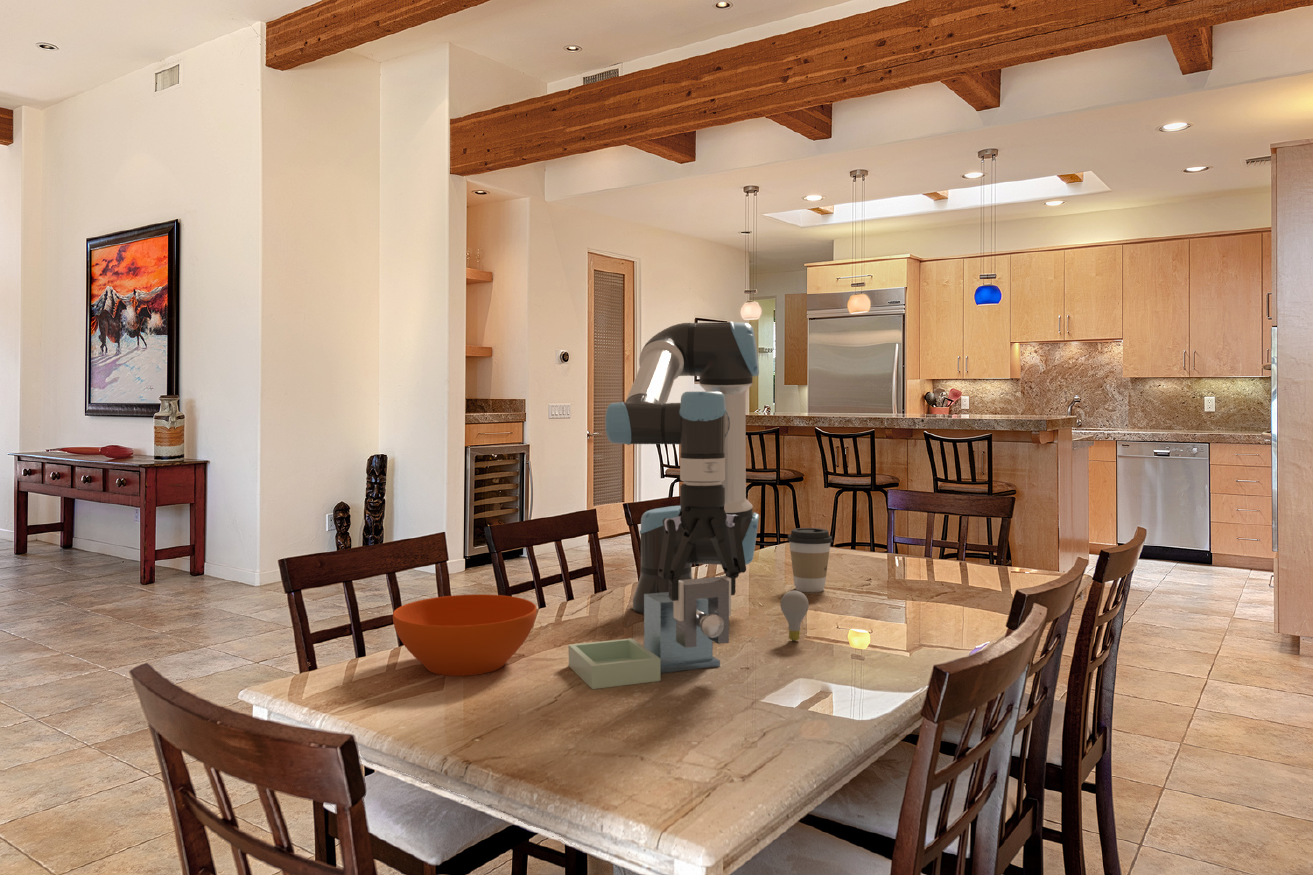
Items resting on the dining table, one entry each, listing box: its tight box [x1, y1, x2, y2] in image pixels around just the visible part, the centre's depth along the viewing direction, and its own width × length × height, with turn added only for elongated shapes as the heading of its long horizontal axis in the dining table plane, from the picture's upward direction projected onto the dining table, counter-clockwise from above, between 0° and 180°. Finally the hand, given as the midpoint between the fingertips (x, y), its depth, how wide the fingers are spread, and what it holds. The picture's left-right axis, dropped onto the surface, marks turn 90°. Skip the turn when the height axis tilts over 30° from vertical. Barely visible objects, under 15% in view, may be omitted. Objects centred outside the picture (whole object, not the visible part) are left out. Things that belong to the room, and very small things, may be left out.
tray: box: [568, 637, 661, 690], centre depth 154 cm, size 14×12×4 cm
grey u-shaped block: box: [676, 576, 730, 648], centre depth 151 cm, size 4×8×10 cm, turn 112°
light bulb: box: [780, 589, 810, 642], centre depth 175 cm, size 6×6×10 cm
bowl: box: [392, 594, 538, 677], centre depth 159 cm, size 25×25×10 cm
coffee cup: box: [787, 527, 834, 593], centre depth 225 cm, size 11×11×15 cm
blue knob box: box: [643, 592, 724, 674], centre depth 156 cm, size 20×12×12 cm, turn 22°
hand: (702, 616), depth 151 cm, fingers closed on grey u-shaped block, 8 cm apart
